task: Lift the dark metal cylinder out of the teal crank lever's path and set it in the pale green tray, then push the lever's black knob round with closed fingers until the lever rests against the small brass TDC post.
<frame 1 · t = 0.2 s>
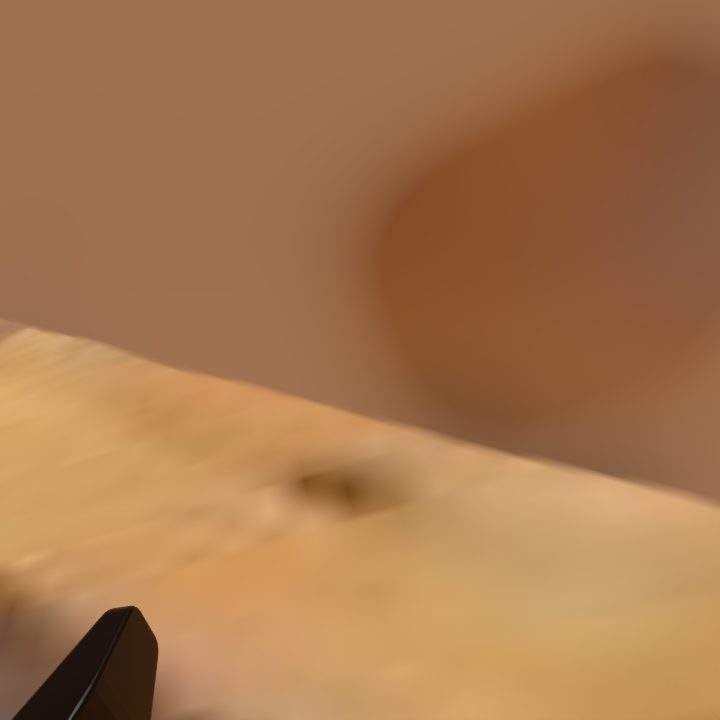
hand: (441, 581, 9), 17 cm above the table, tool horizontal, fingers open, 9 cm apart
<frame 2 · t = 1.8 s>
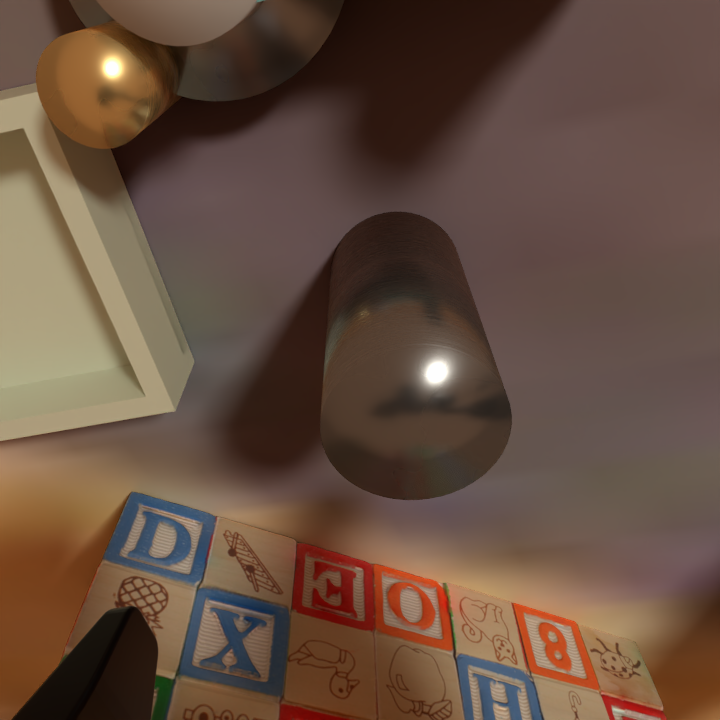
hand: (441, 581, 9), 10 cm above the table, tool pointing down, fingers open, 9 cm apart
tray: (2, 263, 18), on the table
dark metal cylinder: (395, 274, 18), on the table
stack of blocks: (375, 612, 27), on the table
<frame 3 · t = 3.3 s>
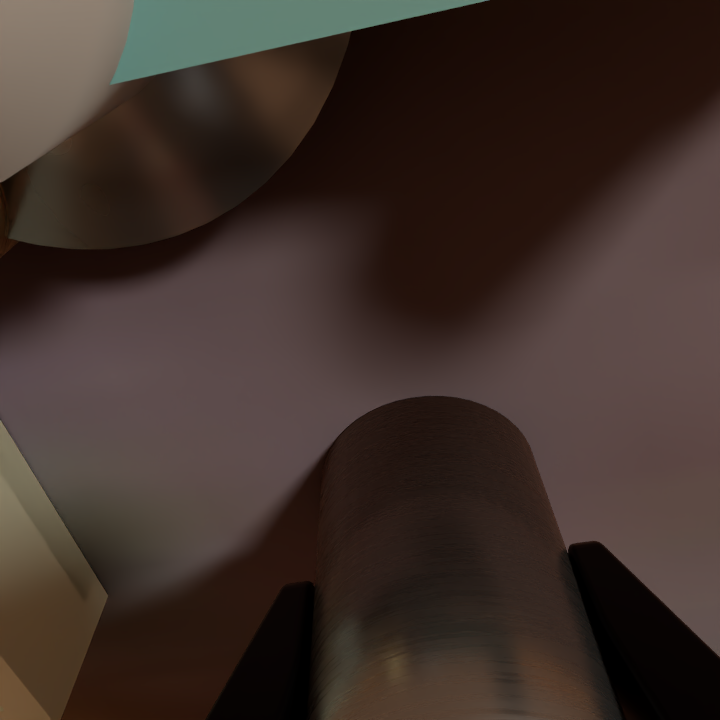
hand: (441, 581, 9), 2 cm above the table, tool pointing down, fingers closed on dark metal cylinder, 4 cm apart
dark metal cylinder: (428, 483, 11), on the table, touching gripper
when the fingers open (3 cm above the table, at t = 6.7 s): dark metal cylinder stays where it is, resting on tray.
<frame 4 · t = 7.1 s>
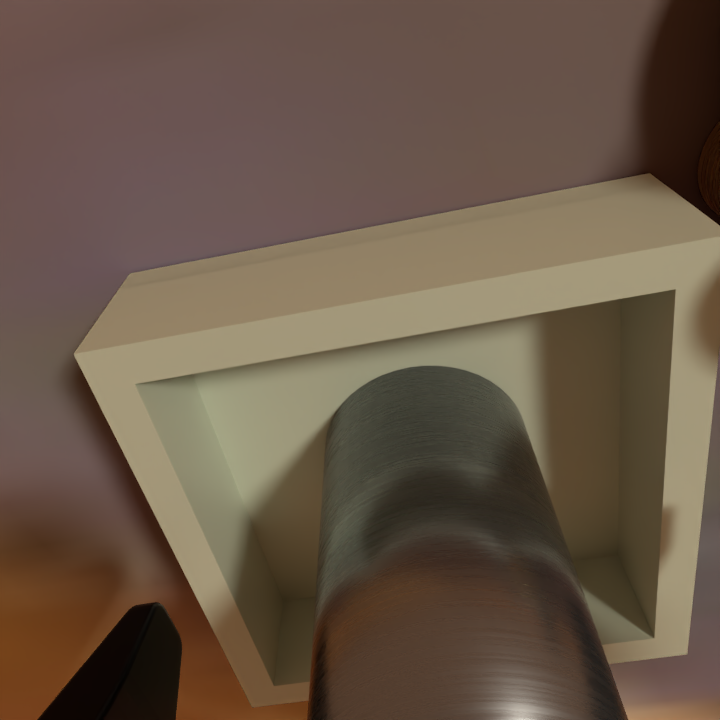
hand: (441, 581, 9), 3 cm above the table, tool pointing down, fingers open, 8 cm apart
tray: (418, 430, 12), on the table
dark metal cylinder: (425, 449, 12), point 1 cm above the table, touching tray
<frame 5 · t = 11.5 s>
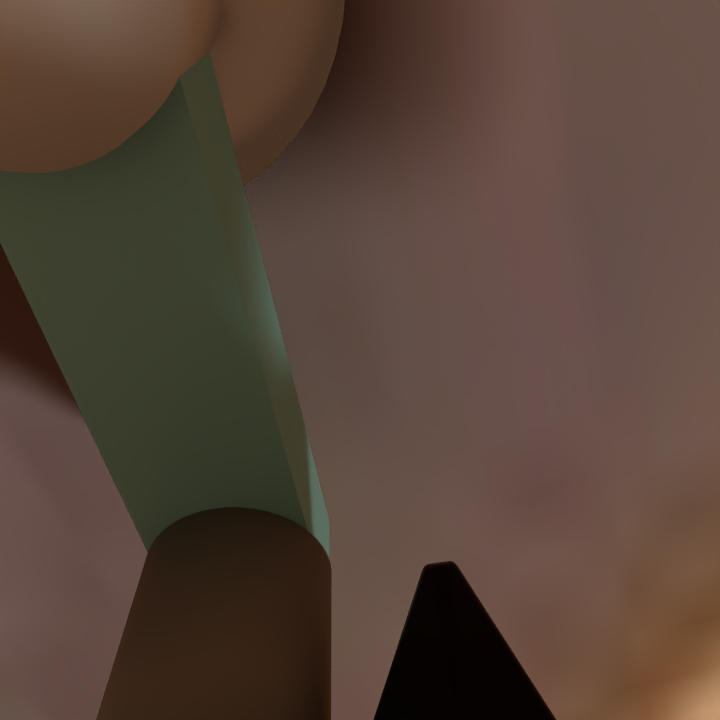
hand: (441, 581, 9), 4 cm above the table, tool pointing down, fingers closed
crank: (136, 383, 7), point 4 cm above the table, hinge at 86.9°, touching gripper
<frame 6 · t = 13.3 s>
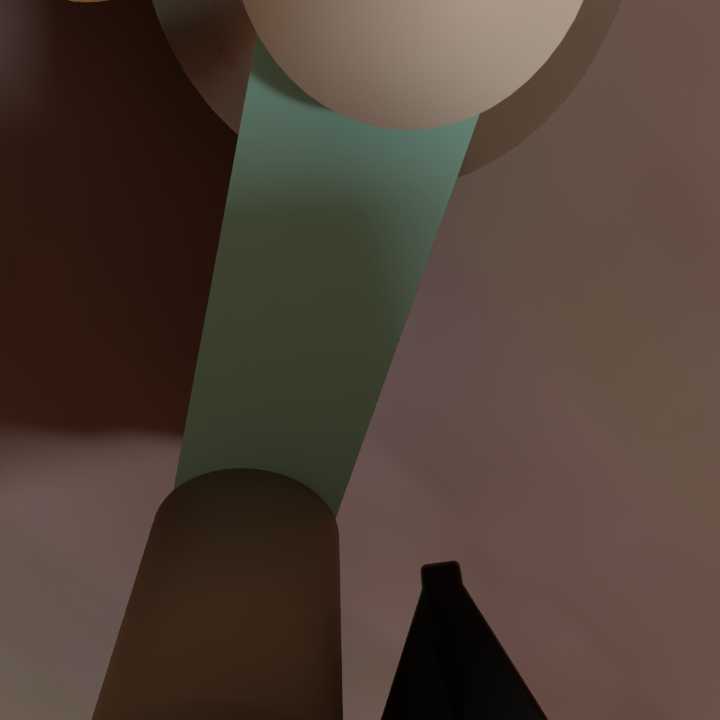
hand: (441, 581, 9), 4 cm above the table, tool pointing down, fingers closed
crank: (308, 335, 7), point 4 cm above the table, hinge at 36.0°, touching gripper
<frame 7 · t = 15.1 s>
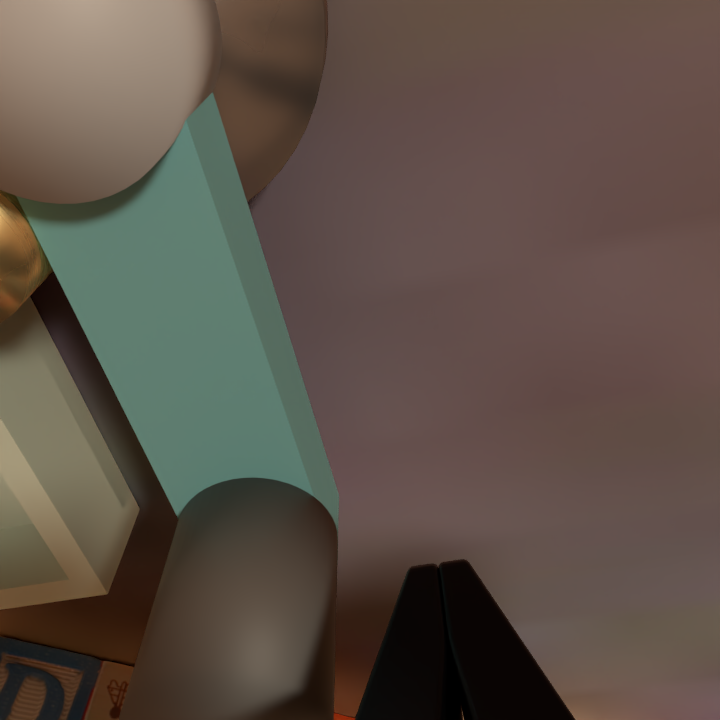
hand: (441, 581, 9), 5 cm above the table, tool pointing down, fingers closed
crank base: (139, 19, 10), on the table
crank: (161, 370, 9), point 4 cm above the table, hinge at 0.9°
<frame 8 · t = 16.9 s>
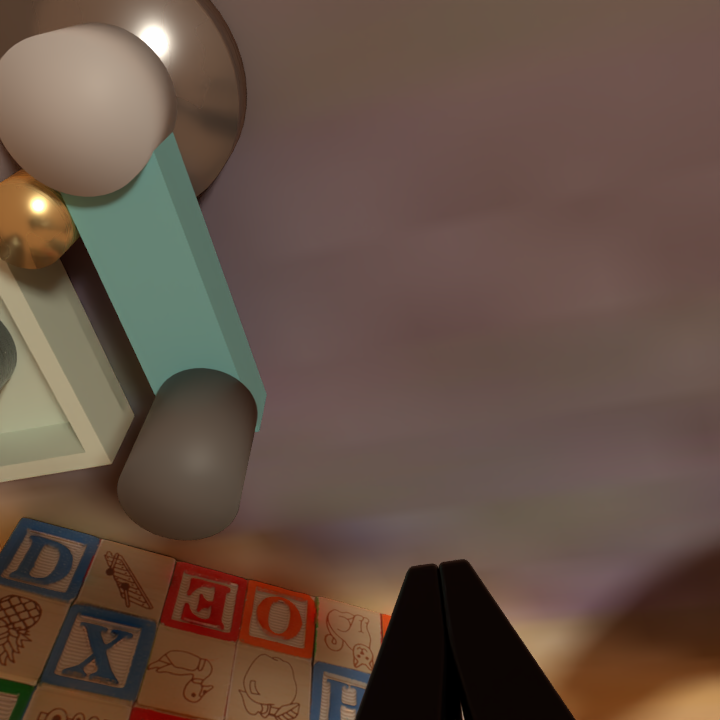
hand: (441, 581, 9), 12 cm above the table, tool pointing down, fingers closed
crank base: (130, 85, 17), on the table
stack of blocks: (260, 623, 29), on the table
crank: (141, 292, 15), point 4 cm above the table, hinge at 0.9°
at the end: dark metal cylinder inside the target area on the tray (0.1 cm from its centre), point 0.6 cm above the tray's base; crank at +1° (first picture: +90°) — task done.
